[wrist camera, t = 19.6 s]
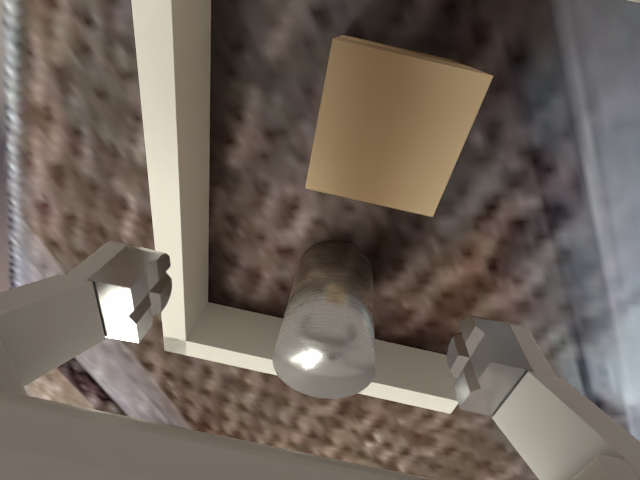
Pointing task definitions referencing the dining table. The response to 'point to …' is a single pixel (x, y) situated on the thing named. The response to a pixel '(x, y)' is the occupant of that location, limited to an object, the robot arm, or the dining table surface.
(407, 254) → the dining table surface
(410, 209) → the oak block
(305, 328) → the steel part
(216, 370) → the dining table surface
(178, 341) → the frame
